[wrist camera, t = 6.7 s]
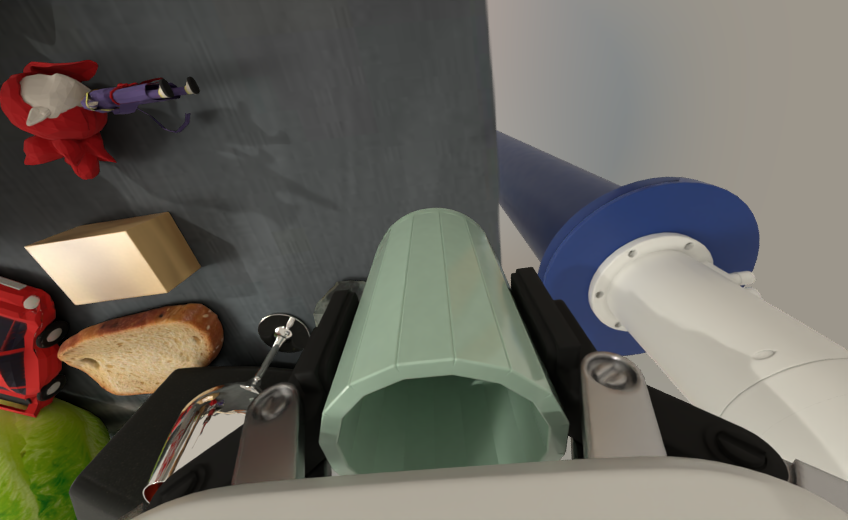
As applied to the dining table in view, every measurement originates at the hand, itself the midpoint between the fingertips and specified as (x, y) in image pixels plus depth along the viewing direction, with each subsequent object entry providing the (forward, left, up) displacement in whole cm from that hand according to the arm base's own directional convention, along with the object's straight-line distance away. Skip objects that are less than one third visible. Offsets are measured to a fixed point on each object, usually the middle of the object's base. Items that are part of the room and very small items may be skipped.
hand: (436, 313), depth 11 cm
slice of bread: (+39, +15, -20) cm, 46 cm away
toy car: (+54, +11, -20) cm, 58 cm away
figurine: (+17, -10, -17) cm, 25 cm away
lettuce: (+61, +32, -17) cm, 71 cm away
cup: (0, 0, -4) cm, 4 cm away
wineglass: (+21, +16, -20) cm, 33 cm away
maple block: (+32, +2, -20) cm, 37 cm away
